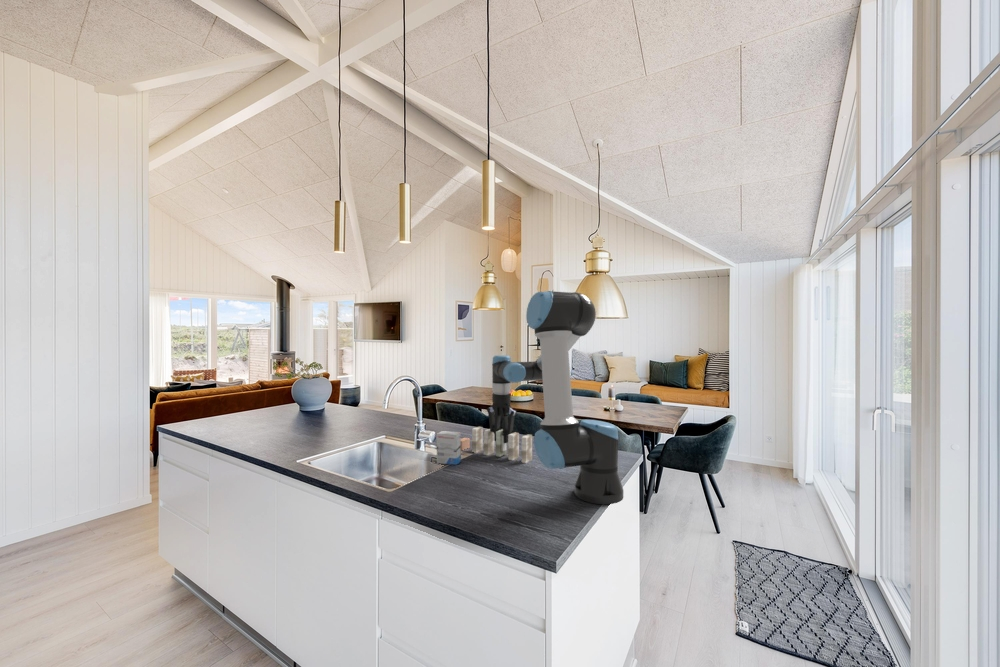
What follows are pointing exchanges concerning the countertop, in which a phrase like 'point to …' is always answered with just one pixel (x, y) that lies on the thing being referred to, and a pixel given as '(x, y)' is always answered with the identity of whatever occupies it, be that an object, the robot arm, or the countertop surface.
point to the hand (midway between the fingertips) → (501, 449)
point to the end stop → (465, 443)
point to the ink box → (448, 447)
